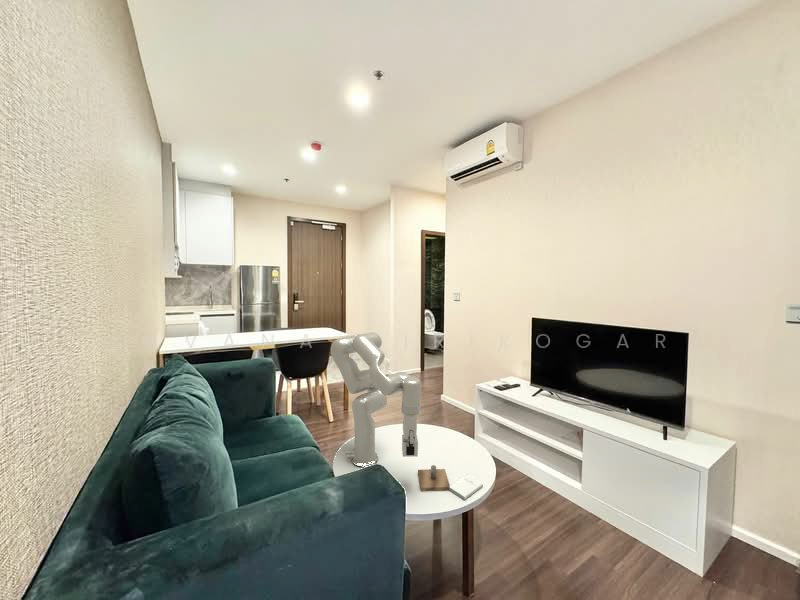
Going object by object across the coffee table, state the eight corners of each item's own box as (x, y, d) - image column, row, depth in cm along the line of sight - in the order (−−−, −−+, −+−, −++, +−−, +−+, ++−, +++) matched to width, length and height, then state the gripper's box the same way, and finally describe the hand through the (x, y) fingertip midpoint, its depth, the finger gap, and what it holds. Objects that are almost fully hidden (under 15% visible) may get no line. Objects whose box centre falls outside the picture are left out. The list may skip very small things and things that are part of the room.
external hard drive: (448, 490, 133) (467, 477, 141) (464, 500, 127) (483, 486, 135) (448, 486, 133) (467, 473, 141) (464, 496, 127) (483, 483, 135)
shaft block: (420, 491, 132) (421, 476, 131) (417, 472, 144) (417, 458, 143) (450, 490, 133) (450, 475, 132) (444, 472, 145) (444, 458, 144)
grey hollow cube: (402, 456, 131) (403, 442, 130) (401, 448, 137) (402, 434, 136) (417, 456, 131) (418, 442, 130) (416, 448, 137) (416, 434, 136)
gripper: (400, 399, 140) (399, 438, 142) (402, 418, 123) (401, 462, 125) (417, 399, 140) (416, 438, 143) (422, 418, 123) (421, 462, 125)
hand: (409, 449), depth 134 cm, fingers closed on grey hollow cube, 6 cm apart
